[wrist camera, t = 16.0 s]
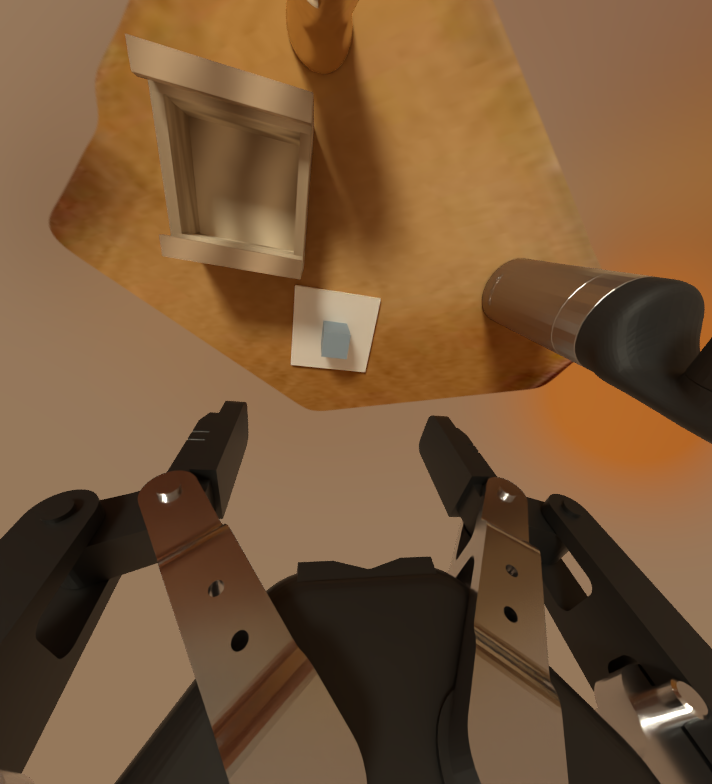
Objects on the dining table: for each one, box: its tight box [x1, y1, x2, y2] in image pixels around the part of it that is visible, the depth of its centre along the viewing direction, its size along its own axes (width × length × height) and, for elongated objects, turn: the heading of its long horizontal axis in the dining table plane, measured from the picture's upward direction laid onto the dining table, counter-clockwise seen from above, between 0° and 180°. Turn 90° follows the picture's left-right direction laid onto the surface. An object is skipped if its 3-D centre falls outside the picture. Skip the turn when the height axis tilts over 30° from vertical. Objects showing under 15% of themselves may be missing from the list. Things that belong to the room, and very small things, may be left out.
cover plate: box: [291, 285, 381, 372], centre depth 38 cm, size 12×12×6 cm
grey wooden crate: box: [125, 34, 314, 279], centre depth 27 cm, size 13×14×8 cm
